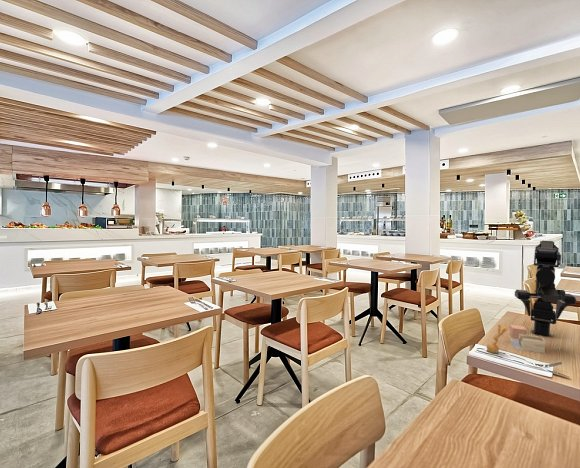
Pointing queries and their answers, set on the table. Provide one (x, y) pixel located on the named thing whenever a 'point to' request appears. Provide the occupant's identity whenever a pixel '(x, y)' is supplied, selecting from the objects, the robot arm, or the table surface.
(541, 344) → the base brick
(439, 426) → the table surface
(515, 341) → the build plate
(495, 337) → the figurine
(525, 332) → the top brick
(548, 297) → the robot arm
